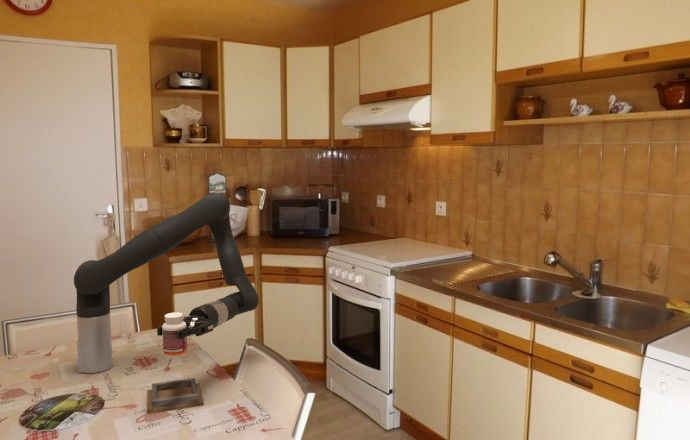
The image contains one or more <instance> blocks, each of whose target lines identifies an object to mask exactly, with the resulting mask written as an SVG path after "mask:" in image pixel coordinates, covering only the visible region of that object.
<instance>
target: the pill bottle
mask: <svg viewBox="0 0 690 440" xmlns="http://www.w3.org/2000/svg"><path fill="white" fill-rule="evenodd" d="M183 317H184V313H183V312H179V311H177V312H169V313H166V314H164V320H165V321H166V322H165V323H164V324H163V323H162V325H161V326H162V335H161V336H162V353H163V356H164V357H165V358H168V359H178V358H182V357H184V356H186V355H187V353H188V336H187V337H185V338H183V339H181V340H179V339H177V332H178V331H179V330H182V329H184V328H186V323H185V322H184V321H182V320H183Z"/></svg>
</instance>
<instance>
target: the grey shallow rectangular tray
mask: <svg viewBox="0 0 690 440" xmlns="http://www.w3.org/2000/svg"><path fill="white" fill-rule="evenodd" d="M146 392H147V393H146V415H147V414H154V413H155V414H156V413H161V412H167V411H173V410H180V409H186V408H187V409H188V408H193V407H200V406H204V405H205V404H204V403H205V401H204V397H203V392H202V387H201V383H200V382H198V383H197V381H196V377H194V378H185V379H178V380H169V381H162V382H154V383H151V389H147V390H146Z"/></svg>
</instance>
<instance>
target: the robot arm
mask: <svg viewBox="0 0 690 440" xmlns="http://www.w3.org/2000/svg"><path fill="white" fill-rule="evenodd" d="M230 213H231V203H230V200H229V198H228V197H227V196H226V195H225V194H223V193H221V192H210V193H209V194H206V195H205V196H203V197H202V198H201V199H199V200H198V201H196V202H195V203H194V204H192V205H191V206H189V207H188V208H186V209H184V210H183V211H181V212H179V213H177V214H174V215H172V216H170V217H168V218H166V219H164V220H161V221H160V222H157V223H156V224H154V225H152V226H150V227H148V228H147V229H145V230H143V231H141V232H140V233H138V234H137V235H135V236H134V237H132V238H131V239H130V240H128V241H127V242H126V243H125V244H123V245H122V246H121V247H120V248H118V249H117V250H115V251H114V252H112V253H111V254H109V255H107V256H105V257H103V258H101V259H99V260H95V259H91V260H87V261H84V262H82V263H81V264H80V265H79V266H78V267H77V269H76V270H75V273H74V276H73V285H74V288H75V289H76V290H75V291H76V307H75V308H76V309H75V311H76V326H77V327H76V328H77V329H76V330H77V342H76V348H77V349H76V350H77V353H76V354H77V366H78V367H77V368H78V369H77V370H78V374H96V373H97V374H98V373H101V372H104V371H108V370H110V369H111V368H112V367H113V344H112V342H113V341H112V326H111V325H112V324H111V322H112V321H111V293H110V292H111V291H110V286H111V285H112V284H113V283H114V282H116V281H117V280H119V279H120V278H122V277H124V276H125V275H126V274H127V273H129V272H132V271H134V270H136V269H138V268H140V267H143V266H144V265H145V264H148V263H150V262H153V260H156V259H158V258H159V257H161V256H163V255H165V254H166V253H168V252H170V251H172V250H173V249H174V248H176V247H178V246H179V245H180V244H181V243H183V241H185V240H186V239H188V237H190V236H191V235H192V234H193V233H195V232H196V231H198V230H199V229H201V228H203V227H206V226H208V227H209V230H210V232H211V235H212V238H213V240H214V244H215V247H216V248H215V249H216V252H217V257H218V261H219V266H220V268H221V269H220V270H221V272H222V276H223V279H224V282H225V285H227V286H231V287H232V286H235V287H236V288H237V290H238V291H235V292H233V293H229V294H228V295H226V296H224V297H222V298H219V299H217V300H212V301H210V302H207V303H204V304H201V305H200V306H196V307H194V308H193V309H191V310H190V312H189V314H188V315H183V320H182V321H184V322H185V323H186V328H184V329H182V330H179V331H178V332H177V339H179V340H181V339H183V338H185V337H187V338H188V337H192V336H194V335H195V337H200V336H203V335H205V334H208V333H210V332H211V333H212V332H213V331H214V329H216V328H217V327H220V326H221V325H222V324H223V323H225V322H228V321H231V320H232V319H234V318H235V317H236V316H238V315H241V314H245V313H247V312H251V311H255V309H257V308H258V306H259V301H260V300H259V299H260V298H259V295H258V292H257V290H256V288H255V287H254V285H253V284H252V281H251V280H250V279H249V277H248V276H247V273H246V269H245V266H244V262H243V259H242V256H241V254H240V251H239V248H238V246H237V244H236V241H235V237H234V235H233V231H232V227H231V217H230ZM165 322H166V321H165V319H164V320H162V325H160V326H159V327H157V328H156V334H157V336H158V337H160V336H163V335H162V326H163V324H164V323H165Z"/></svg>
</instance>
